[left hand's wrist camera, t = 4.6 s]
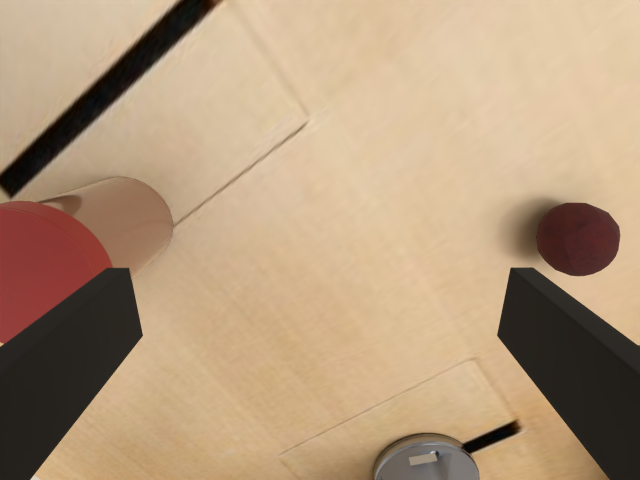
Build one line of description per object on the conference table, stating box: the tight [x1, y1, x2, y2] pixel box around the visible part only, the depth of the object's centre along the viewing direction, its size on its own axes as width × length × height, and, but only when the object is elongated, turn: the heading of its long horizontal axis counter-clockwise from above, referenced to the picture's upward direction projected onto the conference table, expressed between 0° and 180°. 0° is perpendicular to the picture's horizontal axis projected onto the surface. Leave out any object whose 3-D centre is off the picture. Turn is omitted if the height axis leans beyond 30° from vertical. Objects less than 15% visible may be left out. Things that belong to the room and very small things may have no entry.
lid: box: [0, 201, 113, 344], centre depth 27 cm, size 11×11×2 cm
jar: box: [35, 177, 173, 279], centre depth 34 cm, size 10×10×15 cm
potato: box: [537, 203, 620, 276], centre depth 38 cm, size 7×8×7 cm
